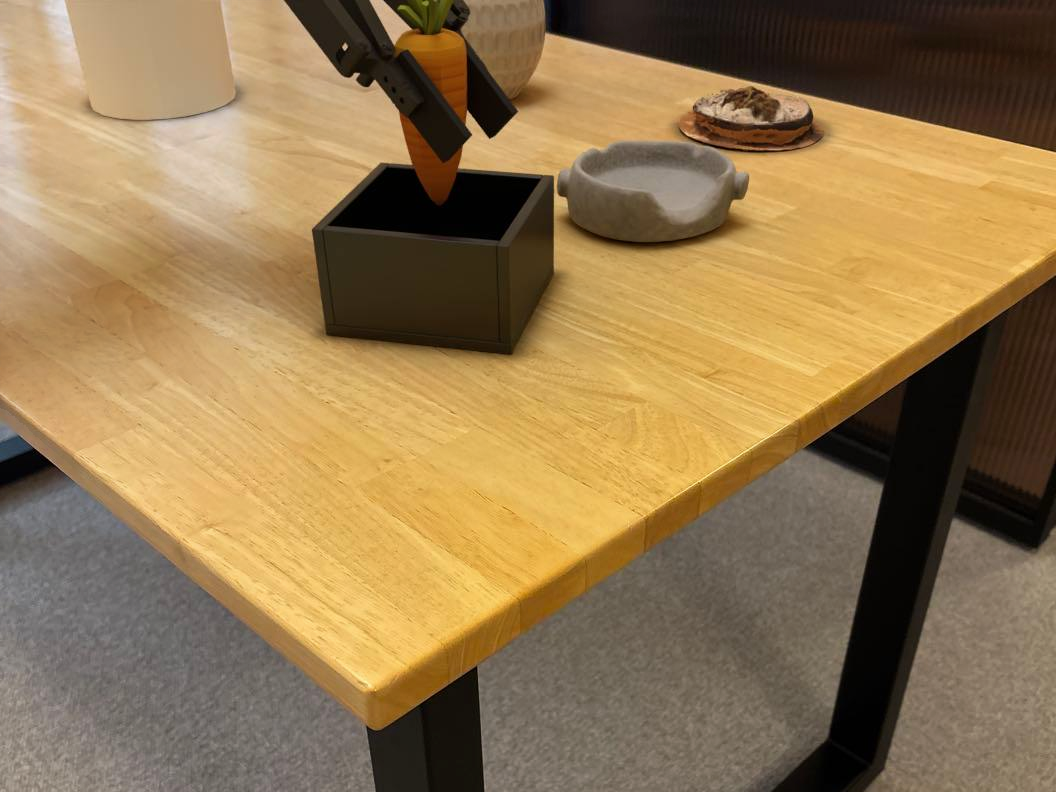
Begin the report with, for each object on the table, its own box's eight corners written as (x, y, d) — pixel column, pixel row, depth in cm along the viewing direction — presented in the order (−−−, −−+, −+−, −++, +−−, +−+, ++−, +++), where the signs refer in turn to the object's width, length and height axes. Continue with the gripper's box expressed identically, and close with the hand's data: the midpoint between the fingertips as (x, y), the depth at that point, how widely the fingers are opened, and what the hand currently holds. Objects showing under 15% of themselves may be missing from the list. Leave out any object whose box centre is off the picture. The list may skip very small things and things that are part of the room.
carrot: (486, 198, 77) (478, -37, 68) (453, 222, 74) (439, -22, 64) (426, 188, 79) (409, -42, 70) (391, 211, 75) (368, -28, 66)
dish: (761, 218, 94) (768, 160, 91) (656, 264, 86) (659, 203, 83) (636, 177, 102) (638, 123, 99) (530, 216, 94) (529, 159, 91)
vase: (431, 113, 118) (419, -59, 108) (436, 81, 129) (426, -80, 118) (548, 111, 119) (547, -61, 109) (543, 79, 129) (543, -81, 119)
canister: (206, 72, 132) (171, -118, 120) (258, 103, 122) (225, -102, 109) (73, 94, 125) (21, -106, 113) (115, 129, 115) (63, -88, 102)
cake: (849, 125, 114) (855, 84, 112) (776, 162, 105) (781, 118, 103) (729, 99, 122) (733, 60, 119) (652, 132, 113) (654, 90, 110)
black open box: (325, 334, 77) (311, 228, 72) (389, 259, 87) (380, 162, 83) (511, 354, 74) (508, 246, 70) (554, 274, 85) (554, 175, 80)
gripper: (314, -137, 77) (517, 134, 80) (121, -105, 65) (370, 213, 68) (366, -227, 72) (581, 67, 75) (166, -211, 59) (434, 140, 63)
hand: (480, 136), depth 72 cm, fingers closed on carrot, 5 cm apart
